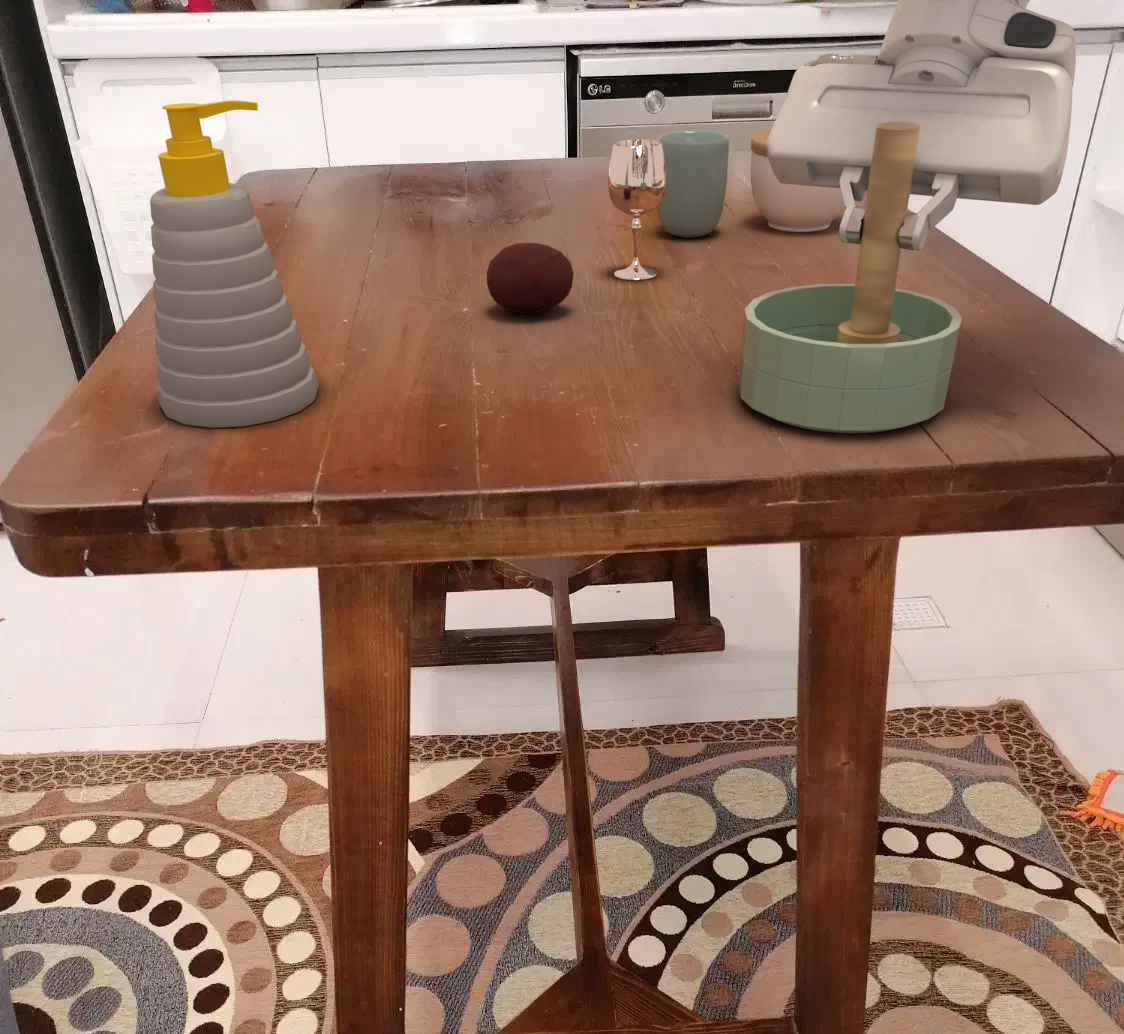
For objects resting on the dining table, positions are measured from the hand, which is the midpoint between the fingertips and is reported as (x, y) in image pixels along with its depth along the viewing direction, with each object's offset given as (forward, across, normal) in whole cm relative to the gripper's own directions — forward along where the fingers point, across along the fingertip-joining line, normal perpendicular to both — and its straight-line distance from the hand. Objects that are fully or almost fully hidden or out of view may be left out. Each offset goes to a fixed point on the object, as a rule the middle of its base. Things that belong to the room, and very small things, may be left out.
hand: (879, 242), depth 76 cm
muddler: (+6, 0, +7) cm, 9 cm away
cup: (-23, -34, +39) cm, 57 cm away
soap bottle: (+22, -44, -6) cm, 49 cm away
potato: (+1, -35, +15) cm, 38 cm away
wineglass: (-10, -32, +27) cm, 43 cm away
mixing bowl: (+8, -2, +9) cm, 12 cm away
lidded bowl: (-29, -24, +46) cm, 60 cm away
